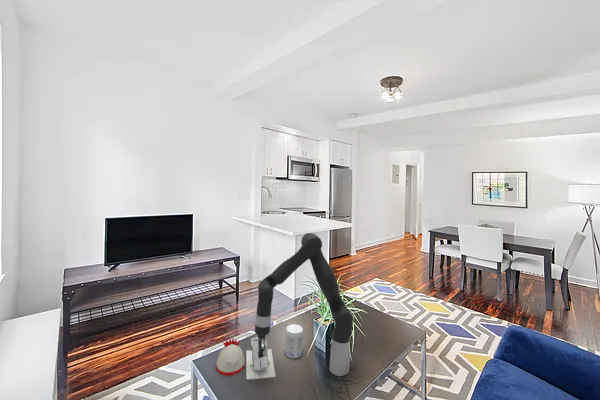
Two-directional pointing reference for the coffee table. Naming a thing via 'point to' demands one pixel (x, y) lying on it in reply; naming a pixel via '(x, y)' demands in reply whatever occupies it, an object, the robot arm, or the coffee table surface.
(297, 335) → the supplement tub
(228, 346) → the kitchen timer
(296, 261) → the robot arm
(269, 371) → the white rectangular board
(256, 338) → the syrup box
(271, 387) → the coffee table surface
